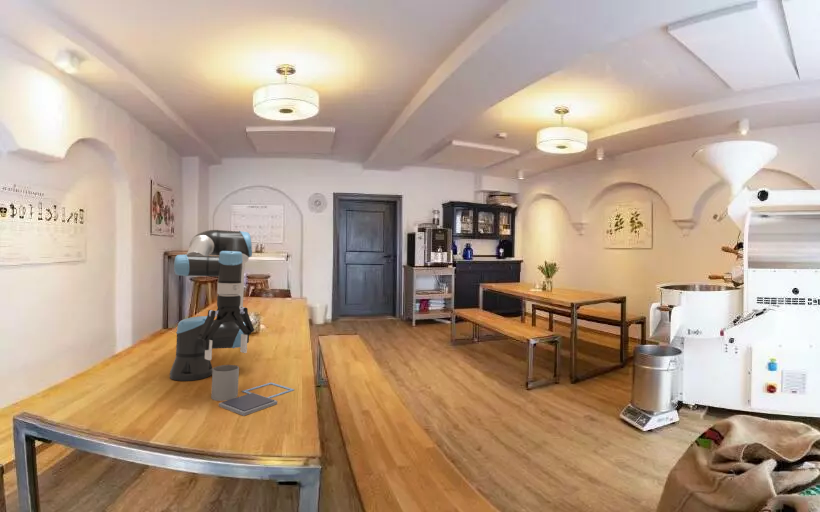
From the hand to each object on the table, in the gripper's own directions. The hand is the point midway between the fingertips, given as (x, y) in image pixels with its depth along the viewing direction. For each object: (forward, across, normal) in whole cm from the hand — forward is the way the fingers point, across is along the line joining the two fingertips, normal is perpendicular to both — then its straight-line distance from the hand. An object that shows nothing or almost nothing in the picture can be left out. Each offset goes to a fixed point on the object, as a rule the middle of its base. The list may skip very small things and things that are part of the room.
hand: (226, 355), depth 142 cm
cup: (+15, 0, 0) cm, 15 cm away
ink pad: (+14, 0, -13) cm, 19 cm away
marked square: (+14, +13, -7) cm, 21 cm away
